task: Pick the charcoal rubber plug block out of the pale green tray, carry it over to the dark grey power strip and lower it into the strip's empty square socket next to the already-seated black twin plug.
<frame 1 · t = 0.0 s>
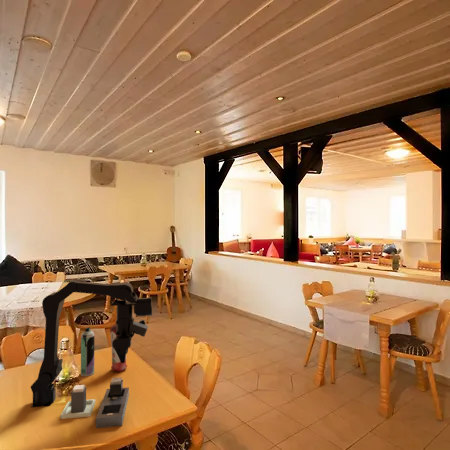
hand: (124, 358, 129), 15 cm above the table, fingers open, 9 cm apart
plug: (78, 410, 119), resting on tray
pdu: (113, 411, 119), on the table
tray: (78, 411, 119), on the table
spray can: (87, 374, 149), on the table
liquor: (119, 370, 154), on the table
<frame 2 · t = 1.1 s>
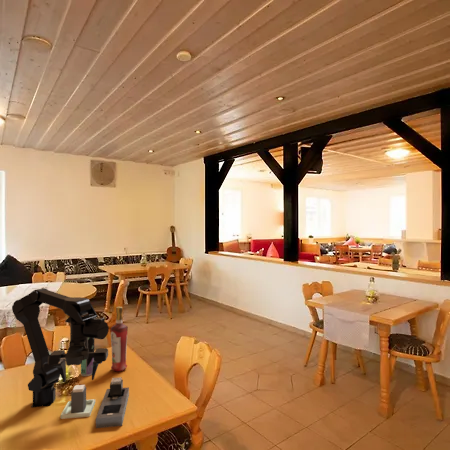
hand: (78, 380, 119), 11 cm above the table, fingers open, 9 cm apart
nothing on the table moved.
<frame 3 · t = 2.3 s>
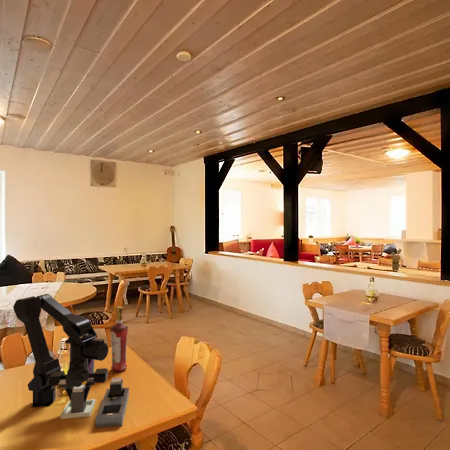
hand: (78, 401, 119), 4 cm above the table, fingers closed on plug, 4 cm apart
plug: (78, 410, 119), resting on tray, touching gripper
everything else where it was.
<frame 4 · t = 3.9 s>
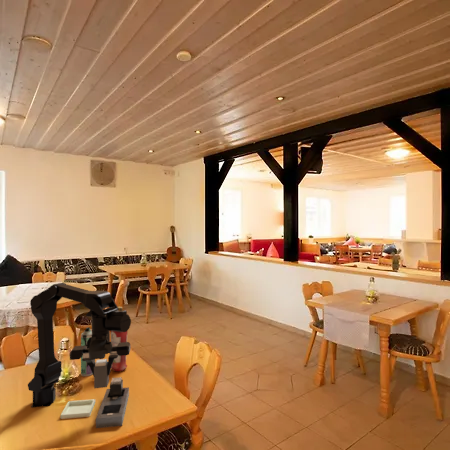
hand: (101, 376, 115), 14 cm above the table, fingers closed on plug, 4 cm apart
plug: (101, 385, 115), point 11 cm above the table, touching gripper
everything else where it was.
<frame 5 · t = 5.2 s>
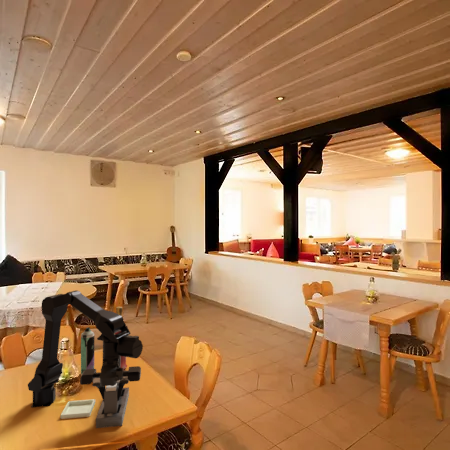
hand: (111, 400, 114), 6 cm above the table, fingers closed on plug, 4 cm apart
plug: (111, 409, 114), point 3 cm above the table, touching gripper
everything else where it was.
when the fingers open (4 cm above the table, at t = 5.8 s): plug drops 1 cm, resting on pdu.
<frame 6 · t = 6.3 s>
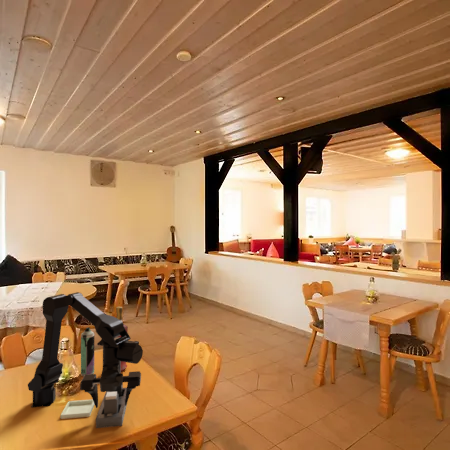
hand: (111, 406, 114), 4 cm above the table, fingers open, 9 cm apart
plug: (111, 418, 114), resting on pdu
everything else where it was.
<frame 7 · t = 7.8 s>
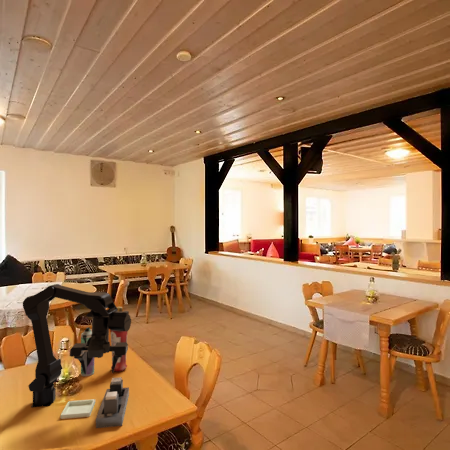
hand: (99, 373, 121), 12 cm above the table, fingers open, 9 cm apart
nothing on the table moved.
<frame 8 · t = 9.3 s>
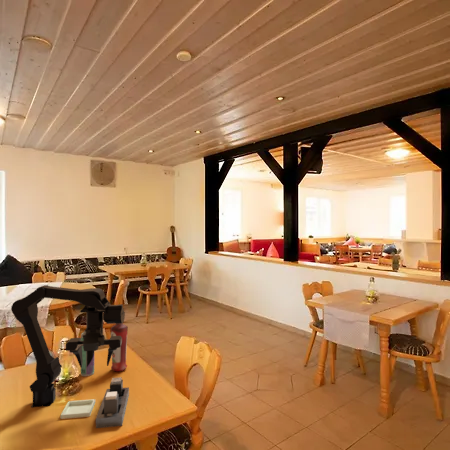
hand: (94, 366, 125), 13 cm above the table, fingers open, 9 cm apart
nothing on the table moved.
at the end: plug 0.1 cm from the target spot on the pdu, point 0.5 cm above the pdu's base; plug tilted 0°; the gripper is holding nothing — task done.
